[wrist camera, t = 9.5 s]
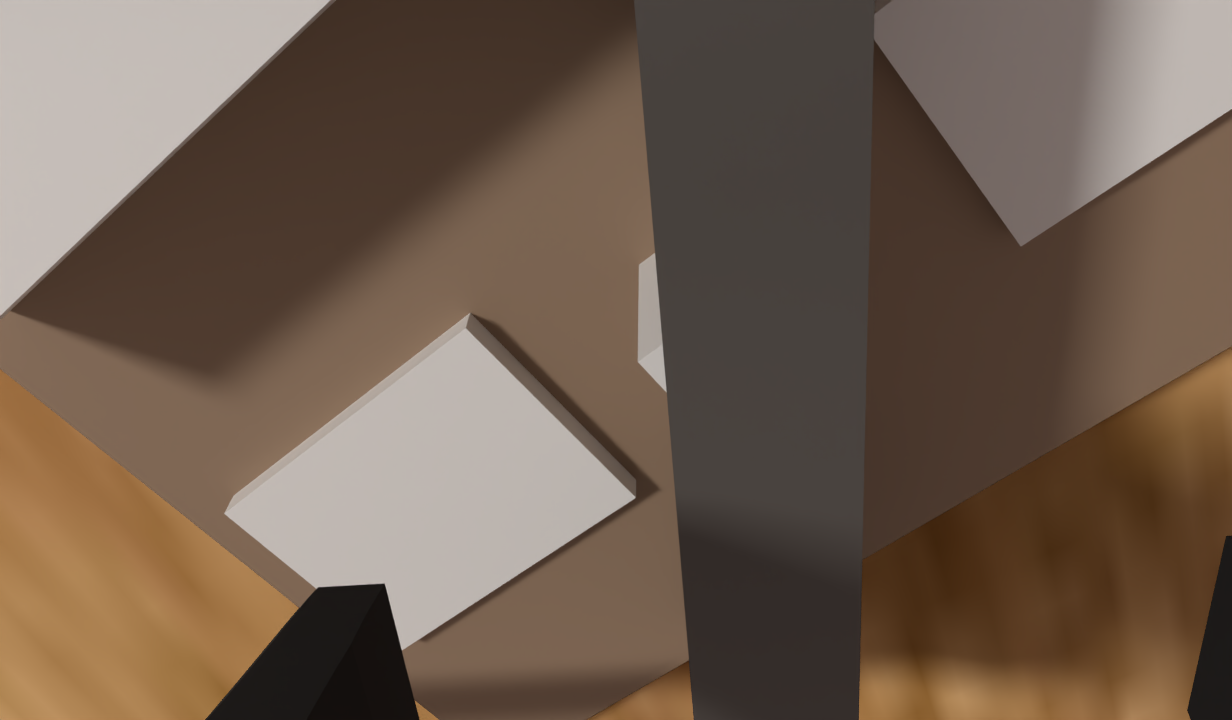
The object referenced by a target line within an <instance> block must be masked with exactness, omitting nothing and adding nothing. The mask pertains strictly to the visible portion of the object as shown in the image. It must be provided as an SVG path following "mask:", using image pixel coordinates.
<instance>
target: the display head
mask: <svg viewBox="0 0 1232 720" xmlns="http://www.w3.org/2000/svg"><path fill="white" fill-rule="evenodd" d="M1231 346H1232V0H875V11H874V55H873V100H872V145H871V189H870V234H869V279H868V323H867V368H866V412H865V457H864V502H863V546H862V560H863V559H865V558H866V557H868V556H870V555H872V554H873V553H875V552H877V551H879V550H880V549H882V548H884V547H885V546H887V545H889V544H891V543H892V542H894V541H896V540H898V539H899V538H901V537H903V536H904V535H906V534H908V533H910V532H911V531H913V530H915V529H917V528H918V527H920V526H922V525H923V524H925V523H927V522H929V521H930V520H932V519H934V518H936V517H937V516H939V515H941V514H942V513H944V512H946V511H948V510H949V509H951V508H953V507H955V506H956V505H958V504H960V503H961V502H963V501H965V500H967V499H968V498H970V497H972V496H974V495H975V494H977V493H979V492H980V491H982V490H984V489H986V488H987V487H989V486H991V485H993V484H994V483H996V482H998V481H1000V480H1001V479H1003V478H1005V477H1006V476H1008V475H1010V474H1012V473H1013V472H1015V471H1017V470H1019V469H1020V468H1022V467H1024V466H1025V465H1027V464H1029V463H1031V462H1032V461H1034V460H1036V459H1038V458H1039V457H1041V456H1043V455H1044V454H1046V453H1048V452H1050V451H1051V450H1053V449H1055V448H1057V447H1058V446H1060V445H1062V444H1063V443H1065V442H1067V441H1069V440H1070V439H1072V438H1074V437H1076V436H1077V435H1079V434H1081V433H1082V432H1084V431H1086V430H1088V429H1089V428H1091V427H1093V426H1095V425H1096V424H1098V423H1100V422H1101V421H1103V420H1105V419H1107V418H1108V417H1110V416H1112V415H1114V414H1115V413H1117V412H1119V411H1120V410H1122V409H1124V408H1126V407H1127V406H1129V405H1131V404H1133V403H1134V402H1136V401H1138V400H1140V399H1141V398H1143V397H1145V396H1146V395H1148V394H1150V393H1152V392H1153V391H1155V390H1157V389H1159V388H1160V387H1162V386H1164V385H1165V384H1167V383H1169V382H1171V381H1172V380H1174V379H1176V378H1178V377H1179V376H1181V375H1183V374H1184V373H1186V372H1188V371H1190V370H1191V369H1193V368H1195V367H1197V366H1198V365H1200V364H1202V363H1203V362H1205V361H1207V360H1209V359H1210V358H1212V357H1214V356H1216V355H1217V354H1219V353H1221V352H1222V351H1224V350H1226V349H1228V348H1229V347H1231ZM0 369H1V370H2V371H4V372H5V373H6V374H7V375H9V376H10V377H11V378H12V379H14V380H15V381H16V382H17V383H19V384H20V385H21V386H22V387H24V388H25V389H26V390H27V391H29V392H30V393H31V394H32V395H34V396H35V397H36V398H37V399H39V400H40V401H41V402H42V403H44V404H45V405H46V406H47V407H49V408H50V409H51V410H52V411H54V412H55V413H56V414H57V415H59V416H60V417H61V418H62V419H64V420H65V421H66V422H67V423H69V424H70V425H71V426H72V427H74V428H75V429H76V430H77V431H79V432H80V433H81V434H82V435H84V436H85V437H86V438H87V439H89V440H90V441H91V442H92V443H94V444H95V445H96V446H97V447H99V448H100V449H101V450H102V451H104V452H105V453H106V454H107V455H109V456H110V457H111V458H112V459H114V460H115V461H116V462H117V463H119V464H120V465H121V466H122V467H124V468H125V469H126V470H127V471H129V472H130V473H131V474H132V475H134V476H135V477H136V478H137V479H139V480H140V481H141V482H142V483H144V484H145V485H146V486H147V487H149V488H150V489H151V490H152V491H154V492H155V493H156V494H157V495H159V496H160V497H161V498H163V499H164V500H165V501H166V502H168V503H169V504H170V505H171V506H173V507H174V508H175V509H176V510H178V511H179V512H180V513H181V514H183V515H184V516H185V517H186V518H188V519H189V520H190V521H191V522H193V523H194V524H195V525H196V526H198V527H199V528H200V529H201V530H203V531H204V532H205V533H206V534H208V535H209V536H210V537H211V538H213V539H214V540H215V541H216V542H218V543H219V544H220V545H221V546H223V547H224V548H225V549H226V550H228V551H229V552H230V553H231V554H233V555H234V556H235V557H236V558H238V559H239V560H240V561H241V562H243V563H244V564H245V565H246V566H248V567H249V568H250V569H251V570H253V571H254V572H255V573H256V574H258V575H259V576H260V577H261V578H263V579H264V580H265V581H266V582H268V583H269V584H270V585H271V586H273V587H274V588H275V589H276V590H278V591H279V592H280V593H281V594H283V595H284V596H285V597H286V598H288V599H289V600H290V601H291V602H293V603H294V604H295V605H296V606H298V607H299V608H300V607H301V606H302V604H303V603H304V602H305V601H306V600H307V599H308V597H309V596H310V595H311V594H312V593H313V592H314V591H315V590H316V589H317V588H318V587H331V586H348V585H366V584H384V583H385V586H386V590H387V594H388V598H389V602H390V606H391V610H392V614H393V618H394V622H395V626H396V630H397V634H398V638H399V641H400V645H401V649H402V653H403V657H404V661H405V665H406V669H407V673H408V677H409V681H410V685H411V689H412V693H413V697H414V700H415V701H417V702H418V703H419V704H420V705H422V706H423V707H424V708H425V709H427V710H428V711H429V712H430V713H432V714H433V715H434V716H435V717H437V718H438V719H439V720H586V719H588V718H590V717H592V716H593V715H595V714H597V713H599V712H600V711H602V710H604V709H605V708H607V707H609V706H611V705H612V704H614V703H616V702H618V701H619V700H621V699H623V698H624V697H626V696H628V695H630V694H631V693H633V692H635V691H637V690H638V689H640V688H642V687H643V686H645V685H647V684H649V683H650V682H652V681H654V680H656V679H657V678H659V677H661V676H662V675H664V674H666V673H668V672H669V671H671V670H673V669H675V668H676V667H678V666H680V665H681V664H683V663H685V662H687V661H688V660H689V655H688V643H687V631H686V619H685V607H684V595H683V583H682V571H681V559H680V547H679V535H678V523H677V511H676V499H675V487H674V475H673V463H672V451H671V439H670V427H669V415H668V403H667V391H666V379H665V367H664V355H663V343H662V331H661V319H660V307H659V295H658V283H657V271H656V259H655V247H654V235H653V223H652V211H651V199H650V187H649V175H648V163H647V151H646V139H645V127H644V115H643V103H642V91H641V79H640V67H639V55H638V43H637V31H636V19H635V7H634V0H0Z"/></svg>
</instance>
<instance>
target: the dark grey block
mask: <svg viewBox="0 0 1232 720" xmlns="http://www.w3.org/2000/svg"><path fill="white" fill-rule="evenodd" d="M634 7H635V19H636V31H637V43H638V55H639V67H640V79H641V91H642V103H643V115H644V127H645V139H646V151H647V163H648V175H649V187H650V199H651V211H652V223H653V235H654V247H655V259H656V271H657V283H658V295H659V307H660V319H661V331H662V343H663V355H664V367H665V379H666V391H667V403H668V415H669V427H670V439H671V451H672V463H673V475H674V487H675V499H676V511H677V523H678V535H679V547H680V559H681V571H682V583H683V595H684V607H685V619H686V631H687V643H688V655H689V667H690V679H691V691H692V703H693V715H694V720H859V680H860V636H861V591H862V546H863V502H864V457H865V412H866V368H867V323H868V279H869V234H870V189H871V145H872V100H873V55H874V11H875V0H634Z"/></svg>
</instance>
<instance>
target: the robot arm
mask: <svg viewBox="0 0 1232 720" xmlns="http://www.w3.org/2000/svg"><path fill="white" fill-rule="evenodd" d="M1187 711H1188V713H1189V716H1190V719H1191V720H1232V536H1226V540H1225V544H1224V549H1223V553H1222V558H1221V562H1220V567H1219V571H1218V576H1217V580H1216V584H1215V589H1214V593H1213V598H1212V602H1211V607H1210V611H1209V616H1208V620H1207V625H1206V629H1205V634H1204V638H1203V643H1202V647H1201V652H1200V656H1199V661H1198V665H1197V670H1196V674H1195V678H1194V683H1193V687H1192V692H1191V696H1190V701H1189V705H1188V710H1187ZM205 720H419V716H418V712H417V708H416V705H415V701H414V697H413V693H412V689H411V685H410V681H409V677H408V673H407V669H406V665H405V661H404V657H403V653H402V649H401V645H400V641H399V638H398V634H397V630H396V626H395V622H394V618H393V614H392V610H391V606H390V602H389V598H388V594H387V590H386V586H385V583H384V584H366V585H348V586H331V587H318V588H317V589H316V590H315V591H314V592H313V593H312V594H311V595H310V596H309V597H308V599H307V600H306V601H305V602H304V603H303V604H302V606H301V607H300V608H299V609H298V610H297V611H296V612H295V614H294V615H293V616H292V617H291V618H290V619H289V621H288V622H287V623H286V624H285V625H284V627H283V628H282V629H281V630H280V631H279V633H278V634H277V635H276V636H275V637H274V639H273V640H272V641H271V642H270V643H269V645H268V646H267V647H266V648H265V649H264V651H263V652H262V653H261V654H260V655H259V657H258V658H257V659H256V660H255V661H254V663H253V664H252V665H251V666H250V667H249V669H248V670H247V671H246V672H245V673H244V675H243V676H242V677H241V678H240V679H239V681H238V682H237V683H236V684H235V685H234V686H233V688H232V689H231V690H230V691H229V692H228V694H227V695H226V696H225V697H224V698H223V699H222V701H221V702H220V703H219V704H218V705H217V707H216V708H215V709H214V710H213V711H212V712H211V714H210V715H209V716H208V717H207V718H206V719H205Z"/></svg>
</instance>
